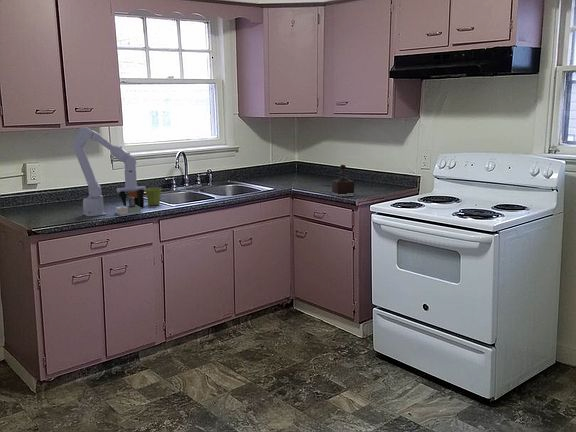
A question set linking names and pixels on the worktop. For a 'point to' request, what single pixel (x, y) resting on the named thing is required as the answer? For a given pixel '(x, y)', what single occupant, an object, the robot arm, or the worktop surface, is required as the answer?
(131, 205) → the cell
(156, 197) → the plant pot
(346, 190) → the brown bottle
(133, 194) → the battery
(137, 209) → the charger
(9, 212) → the worktop surface
